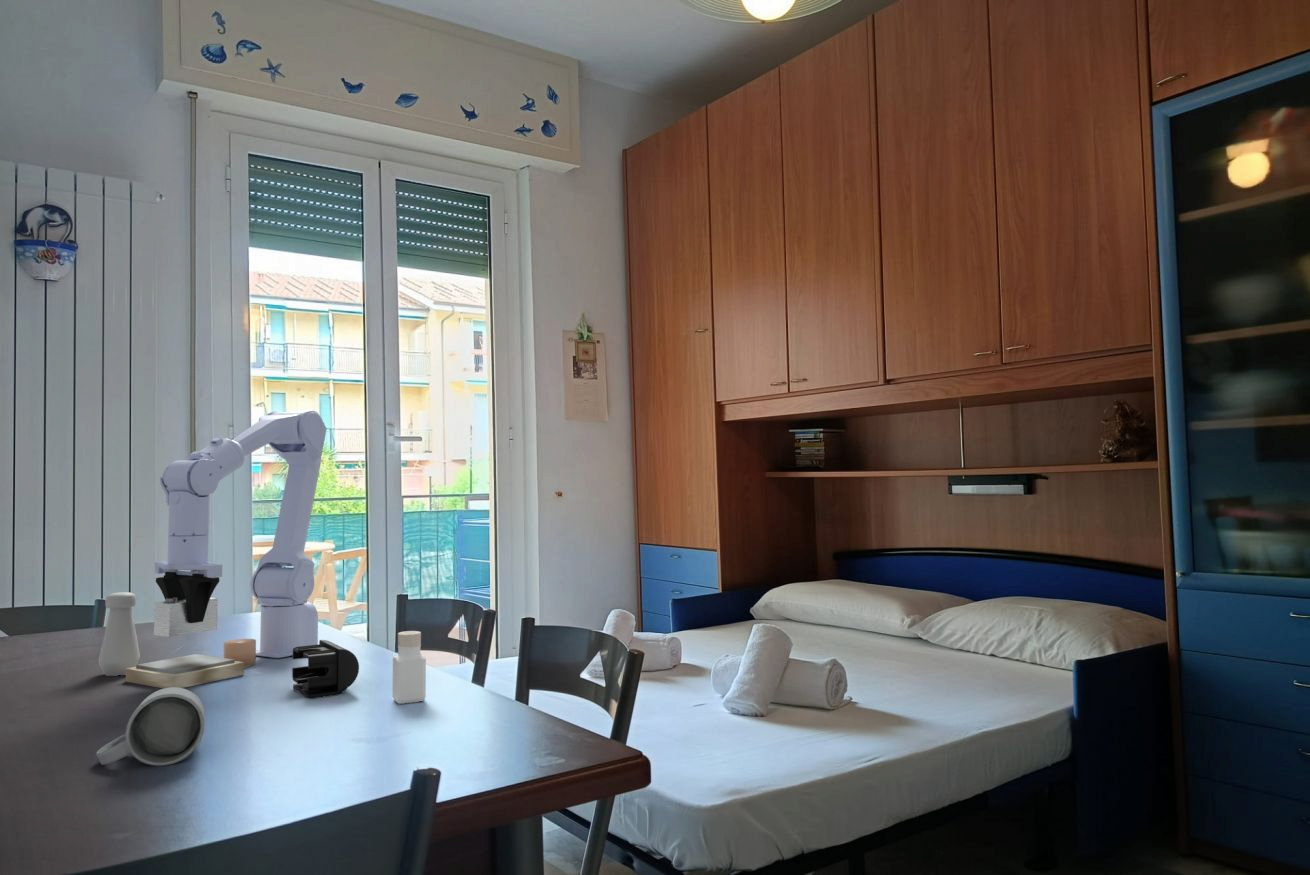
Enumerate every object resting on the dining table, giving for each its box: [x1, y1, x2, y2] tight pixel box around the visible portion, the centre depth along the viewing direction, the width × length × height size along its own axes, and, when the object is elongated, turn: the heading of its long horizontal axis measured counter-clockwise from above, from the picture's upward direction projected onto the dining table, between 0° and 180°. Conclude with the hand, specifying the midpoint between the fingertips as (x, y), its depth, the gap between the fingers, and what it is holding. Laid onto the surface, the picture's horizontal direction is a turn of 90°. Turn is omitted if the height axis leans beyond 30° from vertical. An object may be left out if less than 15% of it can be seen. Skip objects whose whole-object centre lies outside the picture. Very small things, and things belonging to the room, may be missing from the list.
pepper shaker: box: [392, 630, 427, 705], centre depth 128 cm, size 4×4×10 cm
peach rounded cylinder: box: [222, 638, 257, 668], centre depth 154 cm, size 5×5×4 cm
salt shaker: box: [97, 591, 141, 677], centre depth 147 cm, size 6×6×13 cm
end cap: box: [291, 639, 360, 700], centre depth 135 cm, size 10×7×7 cm
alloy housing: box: [153, 597, 219, 638], centre depth 143 cm, size 8×4×6 cm, turn 150°
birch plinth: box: [125, 653, 245, 689], centre depth 143 cm, size 12×12×2 cm
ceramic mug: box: [96, 687, 206, 767], centre depth 102 cm, size 11×8×8 cm
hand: (186, 621), depth 143 cm, fingers closed on alloy housing, 4 cm apart
